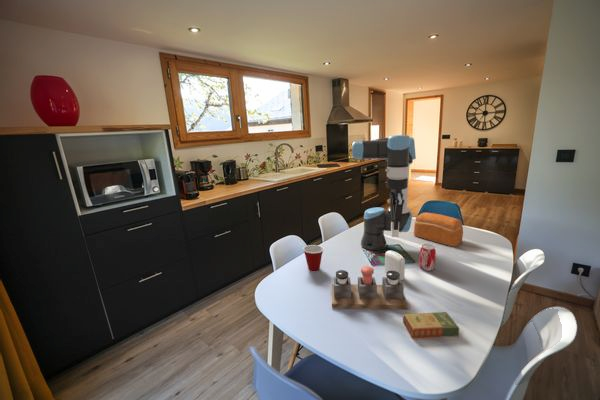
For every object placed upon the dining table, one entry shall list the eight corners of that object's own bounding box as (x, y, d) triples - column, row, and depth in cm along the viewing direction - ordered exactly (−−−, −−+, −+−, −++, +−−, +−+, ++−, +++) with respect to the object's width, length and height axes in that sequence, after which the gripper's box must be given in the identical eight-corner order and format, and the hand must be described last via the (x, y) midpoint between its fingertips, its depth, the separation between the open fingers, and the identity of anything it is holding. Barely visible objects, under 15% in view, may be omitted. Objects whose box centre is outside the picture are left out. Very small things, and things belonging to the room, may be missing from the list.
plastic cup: (328, 266, 140) (327, 246, 137) (317, 276, 132) (316, 254, 129) (311, 262, 146) (310, 242, 143) (300, 270, 138) (298, 249, 135)
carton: (402, 322, 98) (403, 313, 97) (445, 320, 98) (446, 310, 97) (412, 339, 90) (412, 329, 89) (458, 337, 90) (460, 326, 89)
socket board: (331, 307, 108) (331, 290, 106) (331, 287, 122) (331, 272, 120) (407, 309, 105) (409, 291, 103) (399, 289, 118) (399, 273, 116)
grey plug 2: (383, 290, 113) (384, 271, 111) (394, 288, 114) (395, 269, 112) (389, 297, 108) (390, 278, 106) (401, 295, 109) (402, 276, 107)
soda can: (436, 272, 130) (438, 249, 127) (420, 271, 131) (422, 249, 128) (432, 265, 136) (433, 243, 133) (417, 264, 138) (419, 243, 135)
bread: (422, 230, 182) (423, 208, 178) (463, 241, 162) (466, 217, 158) (411, 236, 173) (412, 213, 169) (454, 248, 153) (457, 222, 149)
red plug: (358, 286, 114) (358, 267, 112) (370, 284, 115) (370, 265, 112) (363, 293, 109) (364, 273, 107) (375, 291, 110) (376, 271, 108)
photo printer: (383, 272, 132) (383, 249, 129) (389, 269, 134) (390, 247, 131) (398, 282, 123) (400, 258, 120) (405, 279, 125) (406, 255, 122)
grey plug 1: (334, 289, 116) (334, 271, 113) (345, 288, 117) (345, 269, 114) (338, 296, 111) (338, 277, 108) (350, 294, 112) (350, 275, 109)
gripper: (383, 175, 105) (381, 230, 111) (390, 181, 93) (388, 243, 99) (402, 174, 104) (400, 230, 110) (412, 180, 92) (409, 243, 98)
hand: (394, 236), depth 105 cm, fingers closed
